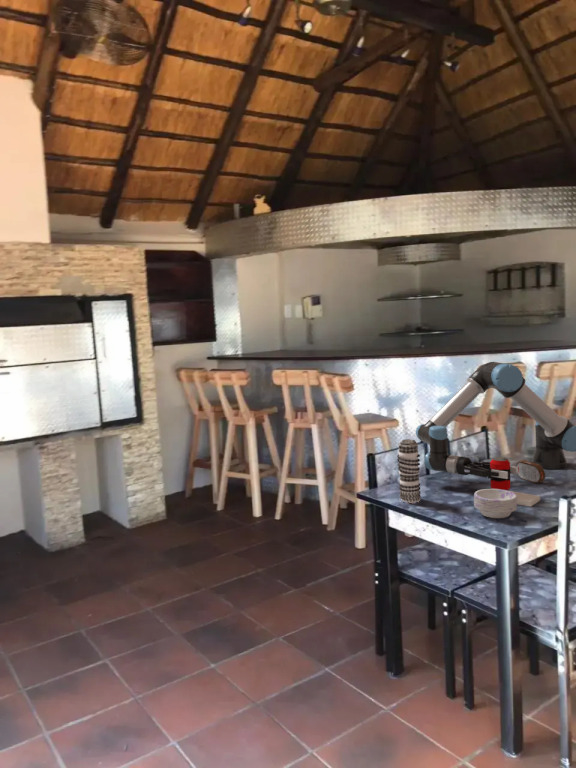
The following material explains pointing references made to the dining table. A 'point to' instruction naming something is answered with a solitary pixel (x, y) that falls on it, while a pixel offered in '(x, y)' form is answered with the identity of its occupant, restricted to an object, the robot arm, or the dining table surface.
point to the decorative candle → (409, 471)
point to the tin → (530, 471)
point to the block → (526, 499)
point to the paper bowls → (495, 502)
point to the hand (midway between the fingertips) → (511, 472)
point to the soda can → (500, 465)
